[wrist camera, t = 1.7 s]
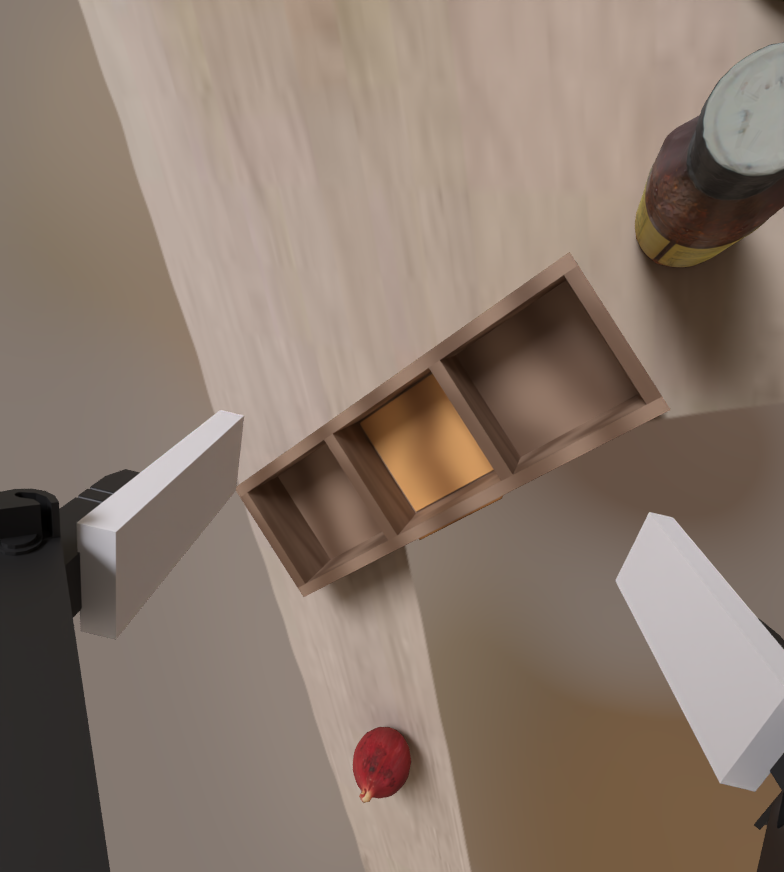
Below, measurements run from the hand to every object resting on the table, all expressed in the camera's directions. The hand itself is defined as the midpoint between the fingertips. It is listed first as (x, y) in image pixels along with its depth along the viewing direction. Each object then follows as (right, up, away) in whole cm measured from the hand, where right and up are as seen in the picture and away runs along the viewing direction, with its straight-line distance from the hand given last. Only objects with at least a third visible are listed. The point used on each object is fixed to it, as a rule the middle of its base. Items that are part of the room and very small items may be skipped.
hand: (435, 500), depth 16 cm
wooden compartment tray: (+2, +2, +28) cm, 28 cm away
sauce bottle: (+19, +17, +18) cm, 31 cm away
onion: (-1, -30, +38) cm, 48 cm away
